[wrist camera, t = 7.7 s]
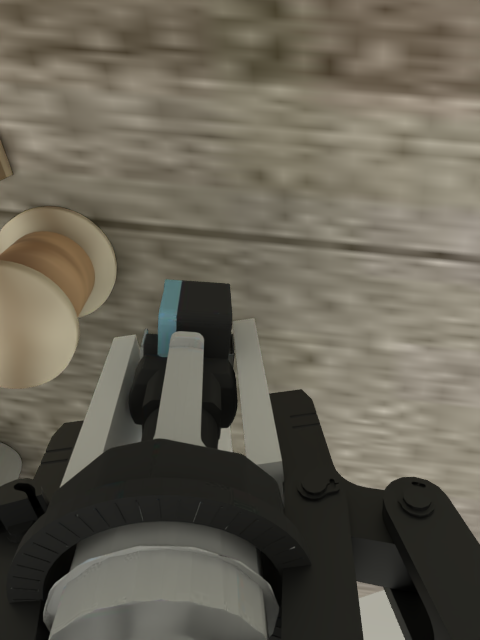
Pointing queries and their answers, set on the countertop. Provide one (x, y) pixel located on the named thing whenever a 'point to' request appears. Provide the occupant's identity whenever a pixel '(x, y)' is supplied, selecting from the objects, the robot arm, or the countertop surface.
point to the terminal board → (4, 164)
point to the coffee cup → (9, 464)
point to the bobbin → (48, 290)
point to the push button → (167, 506)
